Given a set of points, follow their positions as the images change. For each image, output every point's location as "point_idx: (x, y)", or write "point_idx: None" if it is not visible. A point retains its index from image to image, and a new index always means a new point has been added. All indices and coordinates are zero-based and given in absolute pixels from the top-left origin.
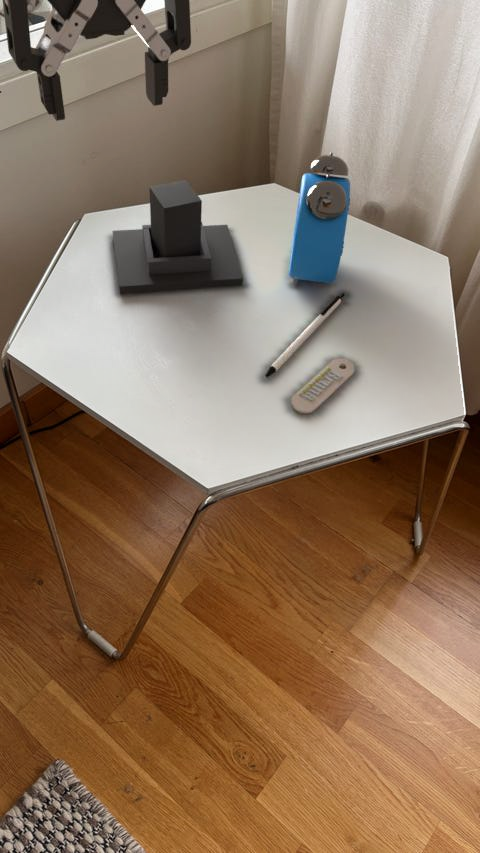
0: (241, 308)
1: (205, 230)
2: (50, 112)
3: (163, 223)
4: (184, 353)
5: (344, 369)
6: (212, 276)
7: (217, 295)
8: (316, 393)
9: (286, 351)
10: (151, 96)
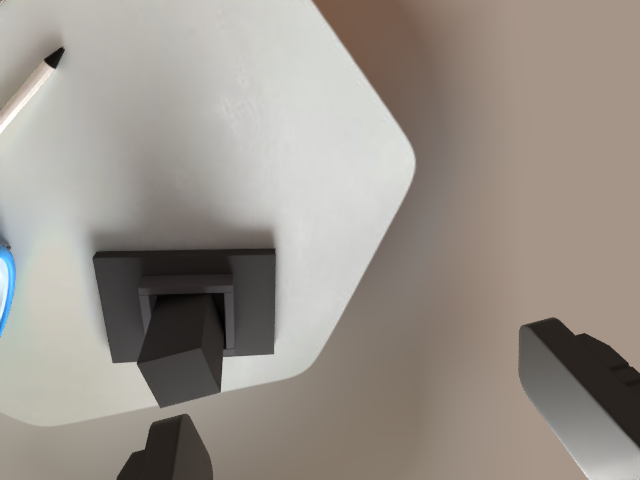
0: (99, 206)
1: None
2: (583, 338)
3: (204, 331)
4: (194, 123)
5: None
6: (140, 264)
7: (136, 235)
8: None
9: (23, 96)
10: (193, 452)
